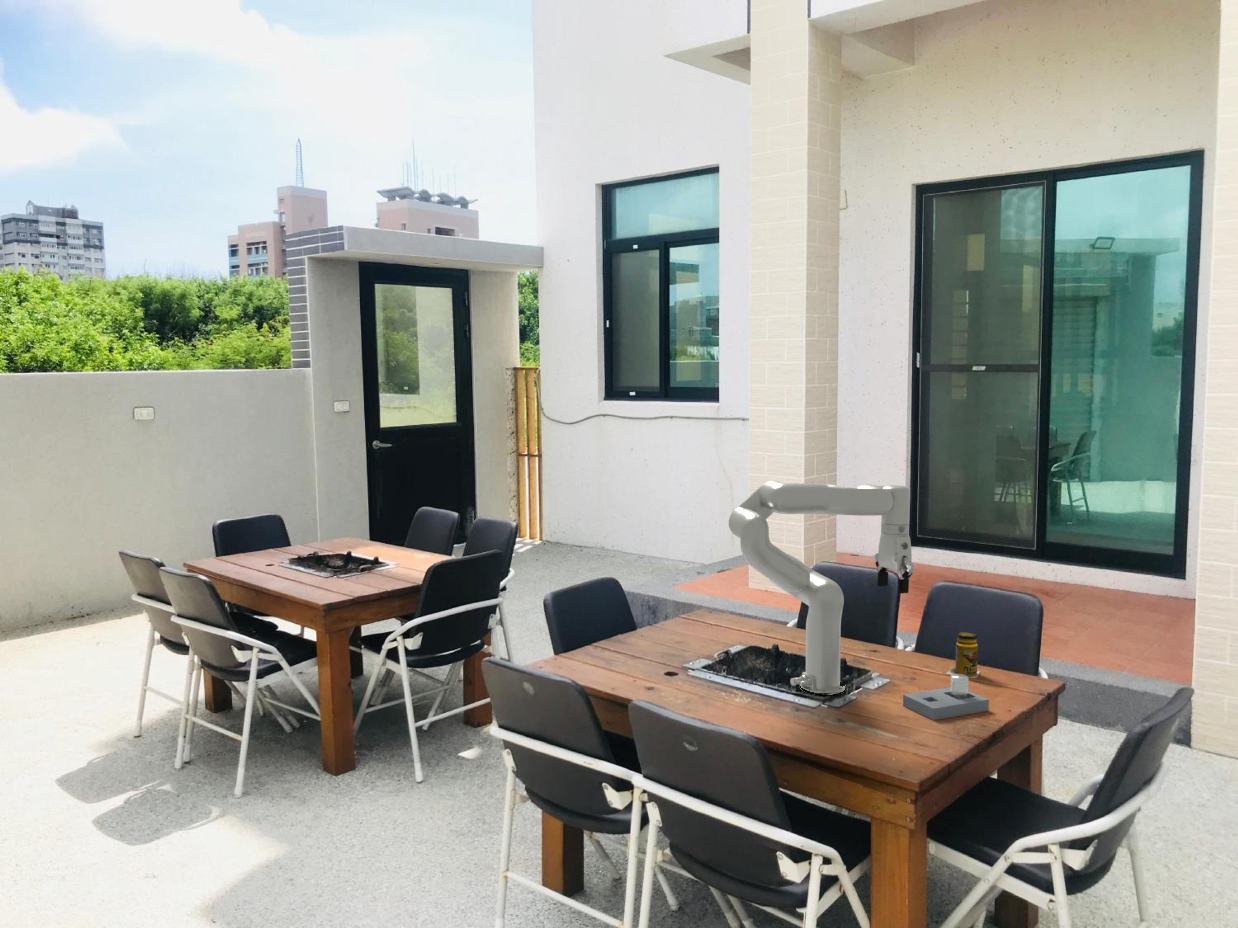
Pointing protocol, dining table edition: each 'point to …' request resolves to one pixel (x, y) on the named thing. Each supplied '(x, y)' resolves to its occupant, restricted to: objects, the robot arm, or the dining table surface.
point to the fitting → (959, 686)
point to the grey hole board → (944, 703)
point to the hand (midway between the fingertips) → (892, 589)
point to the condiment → (966, 655)
